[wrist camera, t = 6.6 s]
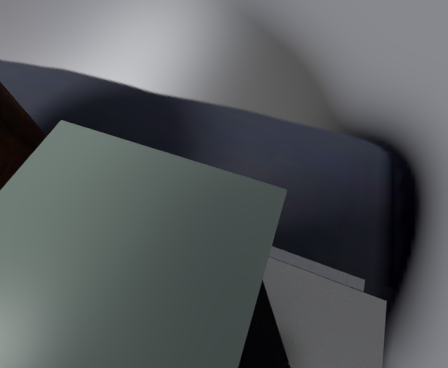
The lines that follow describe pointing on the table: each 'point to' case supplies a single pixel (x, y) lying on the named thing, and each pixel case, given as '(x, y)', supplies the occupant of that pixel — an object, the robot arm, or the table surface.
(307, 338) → the rail
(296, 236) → the table surface
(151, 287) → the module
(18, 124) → the brown flower pot
